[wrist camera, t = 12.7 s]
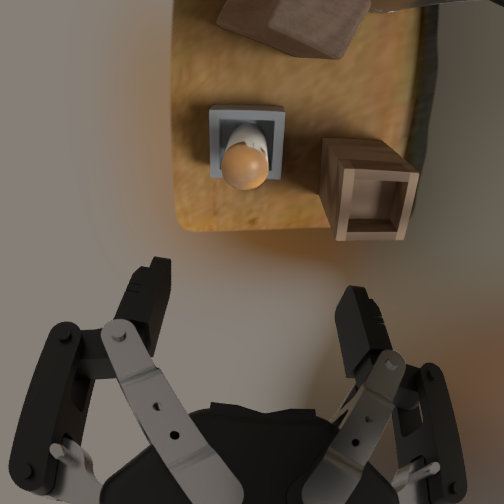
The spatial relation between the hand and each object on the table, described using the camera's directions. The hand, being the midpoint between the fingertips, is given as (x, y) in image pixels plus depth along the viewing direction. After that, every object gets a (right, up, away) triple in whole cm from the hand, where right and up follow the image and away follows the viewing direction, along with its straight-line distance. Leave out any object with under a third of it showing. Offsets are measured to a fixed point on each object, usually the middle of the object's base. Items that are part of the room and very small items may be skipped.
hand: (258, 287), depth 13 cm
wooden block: (+1, +25, +12) cm, 28 cm away
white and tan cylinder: (-1, +14, +19) cm, 23 cm away
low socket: (-1, +15, +19) cm, 24 cm away
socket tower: (+12, +12, +21) cm, 27 cm away
